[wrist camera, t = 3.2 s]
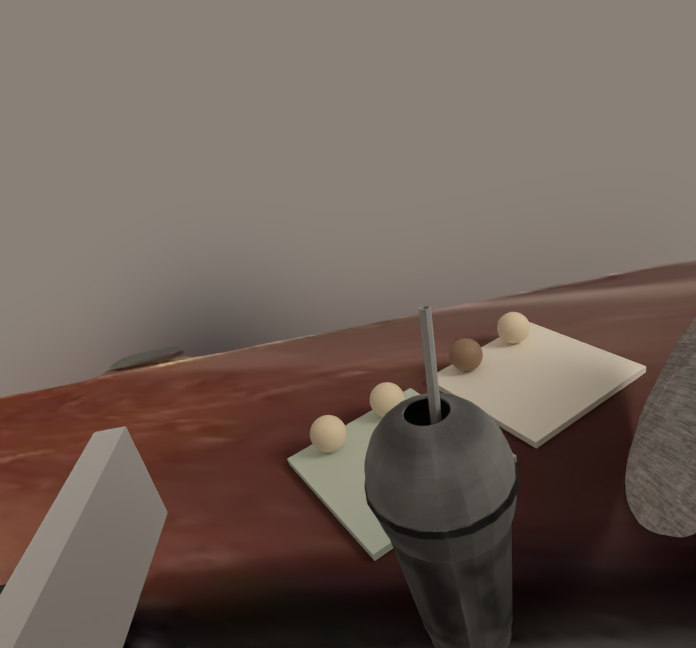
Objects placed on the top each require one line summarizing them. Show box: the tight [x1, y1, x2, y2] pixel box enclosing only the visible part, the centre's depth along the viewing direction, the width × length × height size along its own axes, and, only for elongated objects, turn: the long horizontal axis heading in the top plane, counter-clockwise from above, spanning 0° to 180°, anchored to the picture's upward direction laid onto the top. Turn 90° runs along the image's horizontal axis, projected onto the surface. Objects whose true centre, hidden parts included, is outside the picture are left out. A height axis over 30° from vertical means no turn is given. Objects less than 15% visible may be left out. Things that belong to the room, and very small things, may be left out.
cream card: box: [437, 312, 646, 449], centre depth 51 cm, size 13×13×4 cm
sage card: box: [287, 382, 517, 561], centre depth 45 cm, size 13×13×4 cm
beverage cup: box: [364, 306, 519, 648], centre depth 28 cm, size 7×7×20 cm
